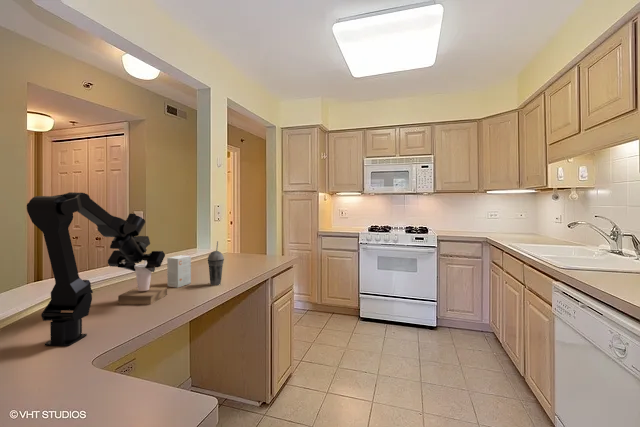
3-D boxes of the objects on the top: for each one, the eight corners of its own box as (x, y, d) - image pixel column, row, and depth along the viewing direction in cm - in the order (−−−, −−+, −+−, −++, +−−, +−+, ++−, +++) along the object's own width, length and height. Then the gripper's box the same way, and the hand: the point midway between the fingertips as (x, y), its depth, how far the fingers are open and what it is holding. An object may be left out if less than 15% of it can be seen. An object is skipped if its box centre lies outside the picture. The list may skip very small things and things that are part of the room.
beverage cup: (203, 285, 138) (204, 242, 138) (213, 281, 145) (214, 240, 145) (217, 287, 136) (217, 243, 135) (226, 283, 143) (227, 241, 142)
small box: (180, 282, 143) (180, 254, 143) (191, 283, 141) (191, 255, 141) (166, 286, 136) (166, 257, 135) (177, 287, 134) (177, 258, 133)
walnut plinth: (150, 304, 112) (150, 296, 111) (118, 303, 112) (118, 295, 111) (167, 294, 124) (167, 287, 123) (137, 294, 124) (137, 286, 123)
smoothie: (150, 291, 115) (150, 255, 115) (131, 292, 113) (131, 255, 113) (154, 287, 121) (155, 252, 121) (136, 288, 119) (137, 252, 119)
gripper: (162, 229, 113) (176, 254, 124) (113, 228, 113) (131, 253, 124) (151, 254, 105) (166, 278, 116) (97, 253, 105) (118, 277, 116)
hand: (145, 270), depth 118 cm, fingers closed on smoothie, 6 cm apart
